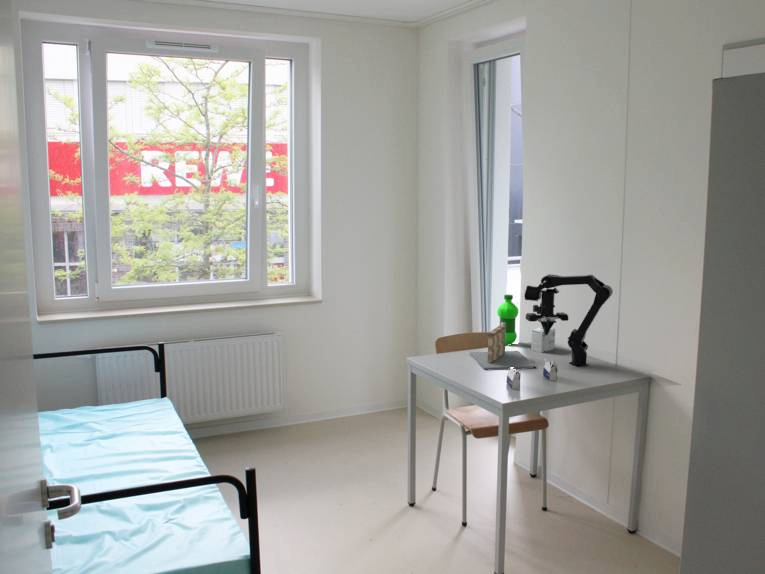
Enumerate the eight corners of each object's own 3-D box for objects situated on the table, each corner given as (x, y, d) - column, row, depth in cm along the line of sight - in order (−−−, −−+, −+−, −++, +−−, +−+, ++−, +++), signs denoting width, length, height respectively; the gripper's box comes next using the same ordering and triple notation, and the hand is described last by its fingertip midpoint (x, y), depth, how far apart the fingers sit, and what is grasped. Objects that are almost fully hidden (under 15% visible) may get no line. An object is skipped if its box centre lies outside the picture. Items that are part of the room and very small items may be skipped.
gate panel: (498, 353, 324) (499, 325, 322) (503, 353, 323) (504, 326, 321) (486, 361, 310) (487, 333, 307) (492, 362, 308) (493, 333, 306)
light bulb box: (543, 346, 343) (544, 325, 341) (555, 349, 337) (556, 328, 336) (530, 350, 336) (531, 328, 334) (541, 353, 331) (542, 331, 329)
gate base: (517, 352, 331) (519, 320, 328) (536, 368, 305) (537, 333, 302) (469, 354, 328) (470, 321, 325) (483, 369, 302) (485, 334, 300)
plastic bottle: (492, 342, 349) (493, 295, 345) (506, 339, 356) (508, 292, 351) (506, 347, 341) (508, 298, 337) (521, 343, 348) (523, 295, 343)
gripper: (560, 298, 323) (558, 330, 325) (522, 299, 320) (521, 331, 323) (569, 302, 312) (567, 336, 314) (530, 303, 309) (528, 337, 312)
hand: (546, 335), depth 316 cm, fingers closed
